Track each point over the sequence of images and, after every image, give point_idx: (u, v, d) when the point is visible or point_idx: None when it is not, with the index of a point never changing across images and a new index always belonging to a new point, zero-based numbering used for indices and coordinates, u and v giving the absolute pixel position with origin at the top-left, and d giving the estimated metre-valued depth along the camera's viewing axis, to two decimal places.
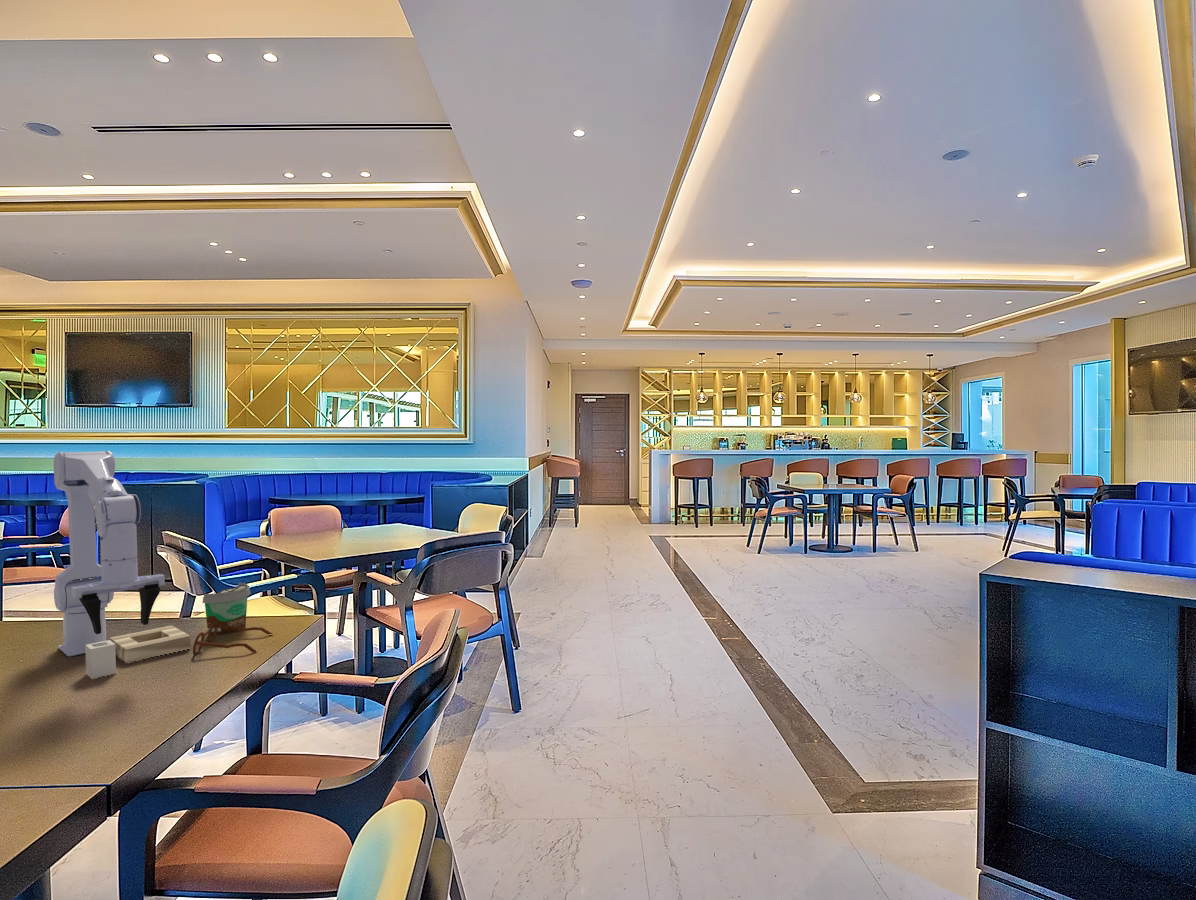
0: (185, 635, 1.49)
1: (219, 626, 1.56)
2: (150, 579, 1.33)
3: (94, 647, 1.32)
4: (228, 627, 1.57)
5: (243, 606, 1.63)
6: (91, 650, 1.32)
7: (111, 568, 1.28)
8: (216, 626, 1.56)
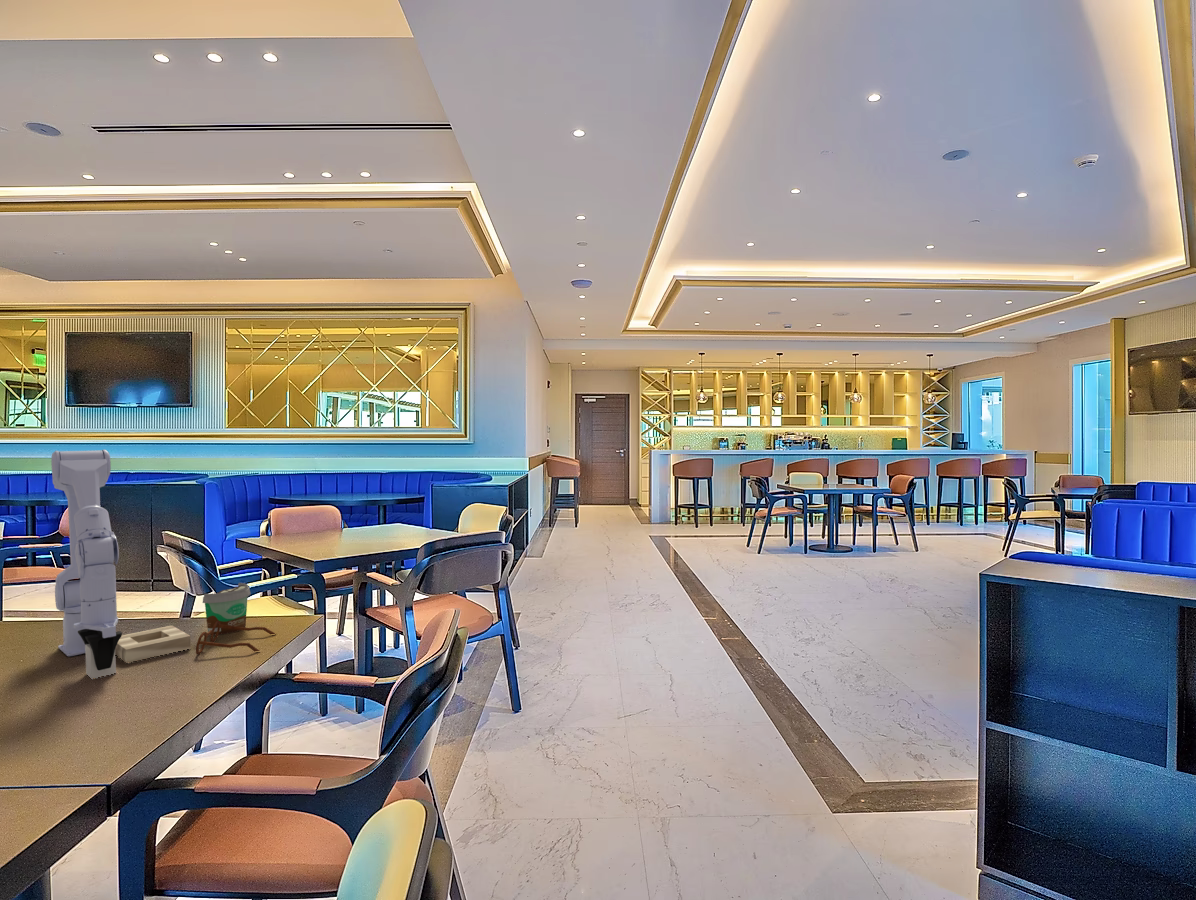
0: (185, 635, 1.49)
1: (222, 626, 1.57)
2: (96, 627, 1.30)
3: None
4: (231, 627, 1.57)
5: (243, 606, 1.63)
6: (91, 650, 1.32)
7: None
8: (219, 626, 1.56)
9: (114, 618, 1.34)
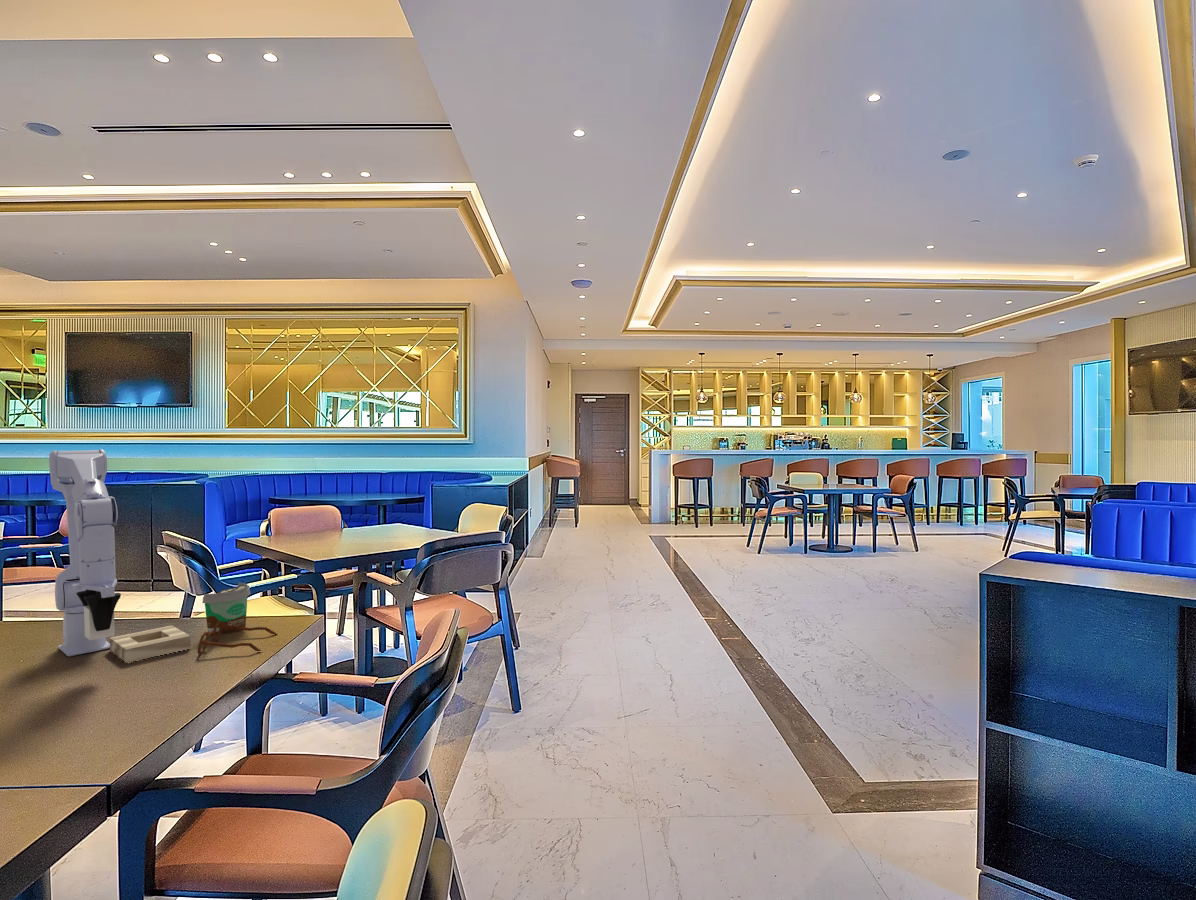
0: (185, 635, 1.49)
1: (223, 626, 1.57)
2: (94, 588, 1.30)
3: None
4: (232, 627, 1.57)
5: (243, 606, 1.63)
6: (90, 611, 1.31)
7: None
8: (220, 626, 1.56)
9: (113, 579, 1.34)
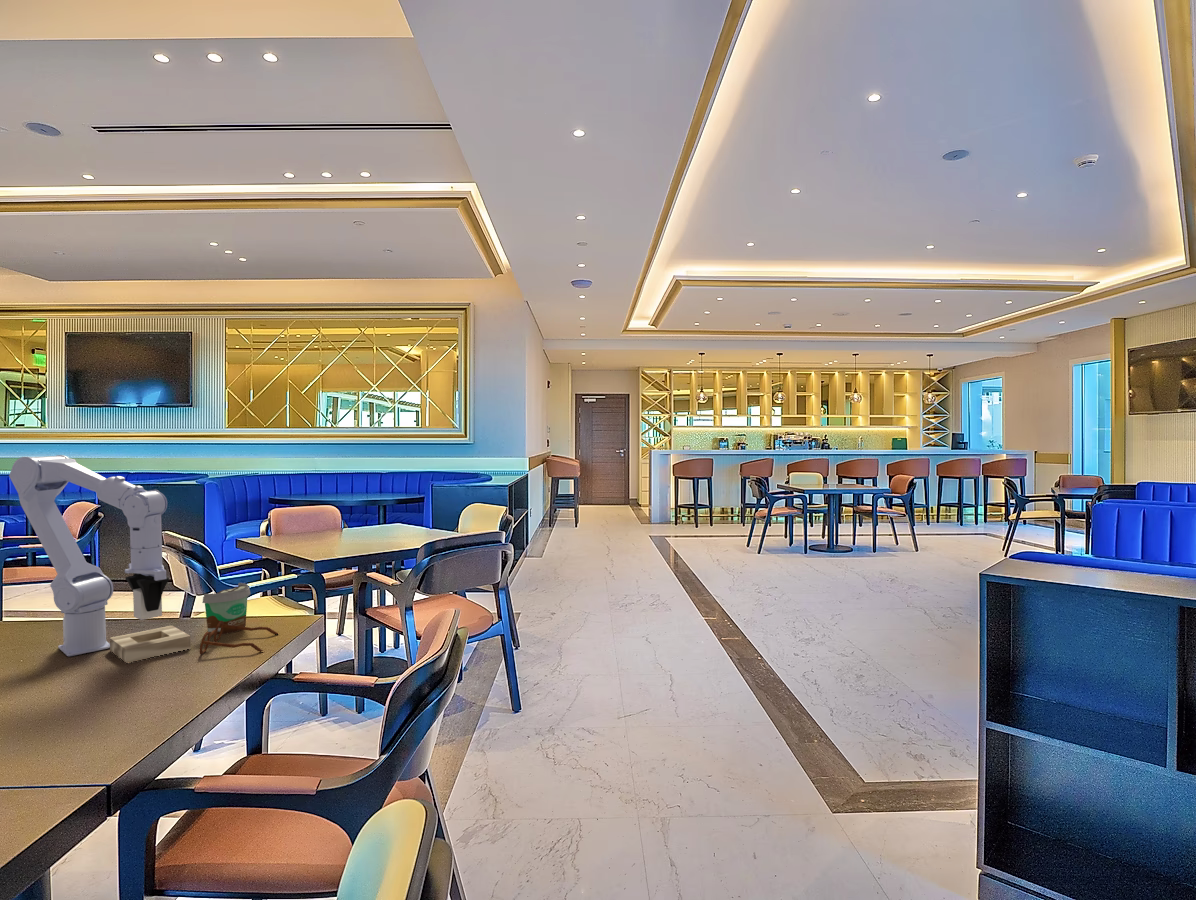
0: (185, 635, 1.49)
1: (225, 626, 1.57)
2: (147, 572, 1.43)
3: None
4: (234, 627, 1.57)
5: (243, 606, 1.63)
6: (141, 593, 1.45)
7: None
8: (222, 626, 1.56)
9: (161, 565, 1.48)
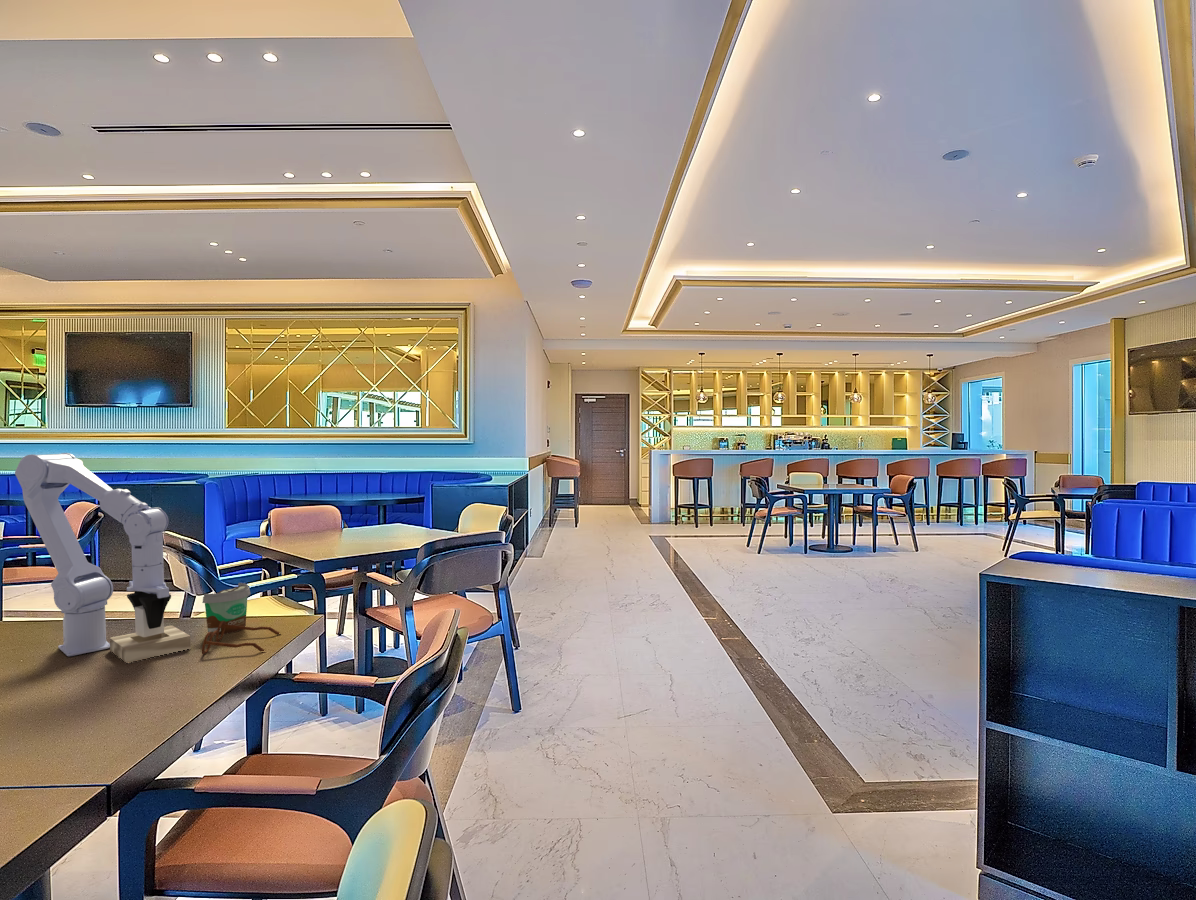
0: (185, 635, 1.49)
1: (227, 626, 1.57)
2: (150, 589, 1.44)
3: None
4: (236, 627, 1.57)
5: (243, 606, 1.63)
6: (143, 611, 1.46)
7: None
8: (224, 626, 1.56)
9: (163, 582, 1.49)
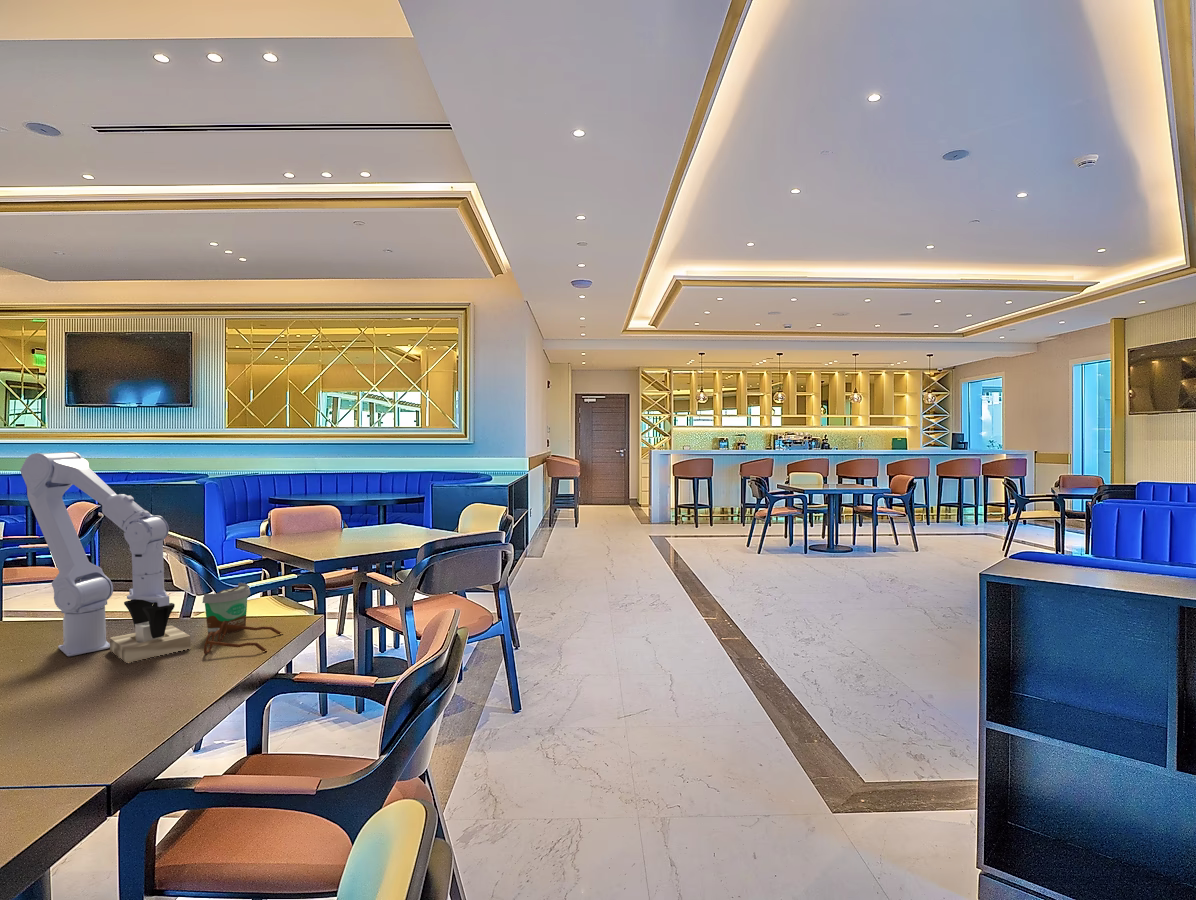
0: (185, 635, 1.49)
1: (229, 625, 1.57)
2: (150, 598, 1.44)
3: (145, 626, 1.47)
4: (238, 626, 1.57)
5: (243, 606, 1.63)
6: (143, 628, 1.46)
7: None
8: (226, 626, 1.57)
9: (163, 590, 1.49)
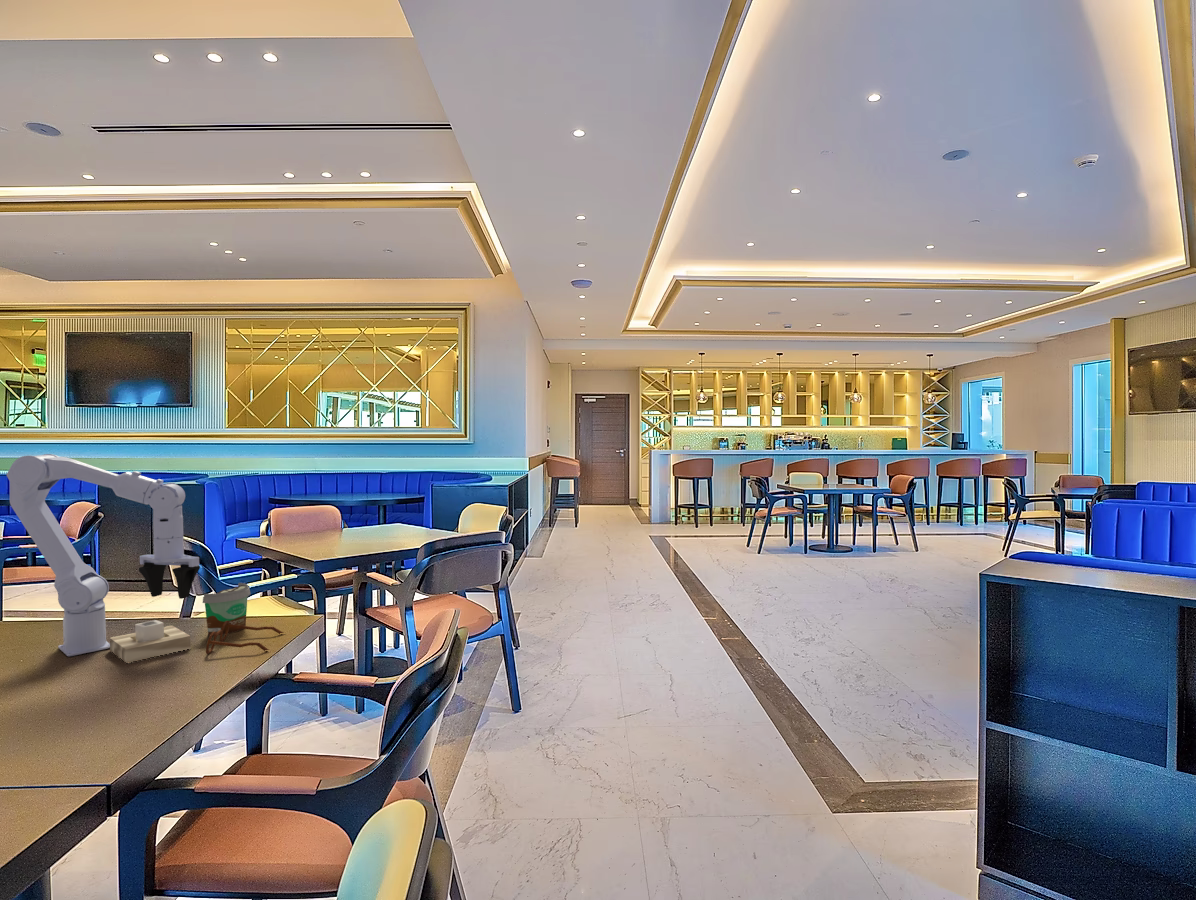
0: (185, 635, 1.49)
1: (231, 625, 1.57)
2: (180, 559, 1.51)
3: (145, 626, 1.47)
4: (240, 626, 1.57)
5: (243, 606, 1.63)
6: (143, 628, 1.46)
7: None
8: (228, 625, 1.57)
9: (183, 554, 1.55)
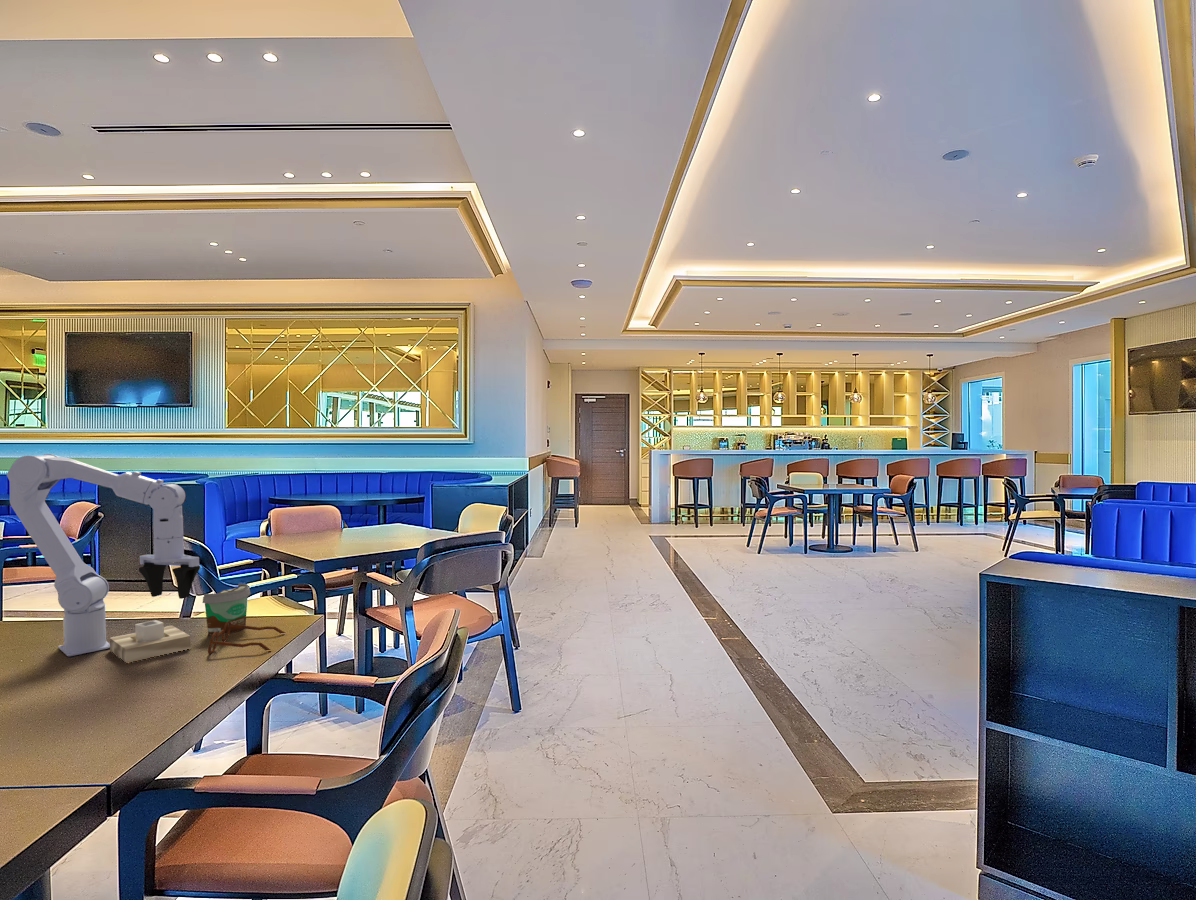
0: (185, 635, 1.49)
1: (232, 625, 1.57)
2: (180, 559, 1.51)
3: (145, 626, 1.47)
4: (241, 626, 1.57)
5: (243, 606, 1.63)
6: (143, 628, 1.46)
7: None
8: (229, 625, 1.57)
9: (183, 554, 1.55)
